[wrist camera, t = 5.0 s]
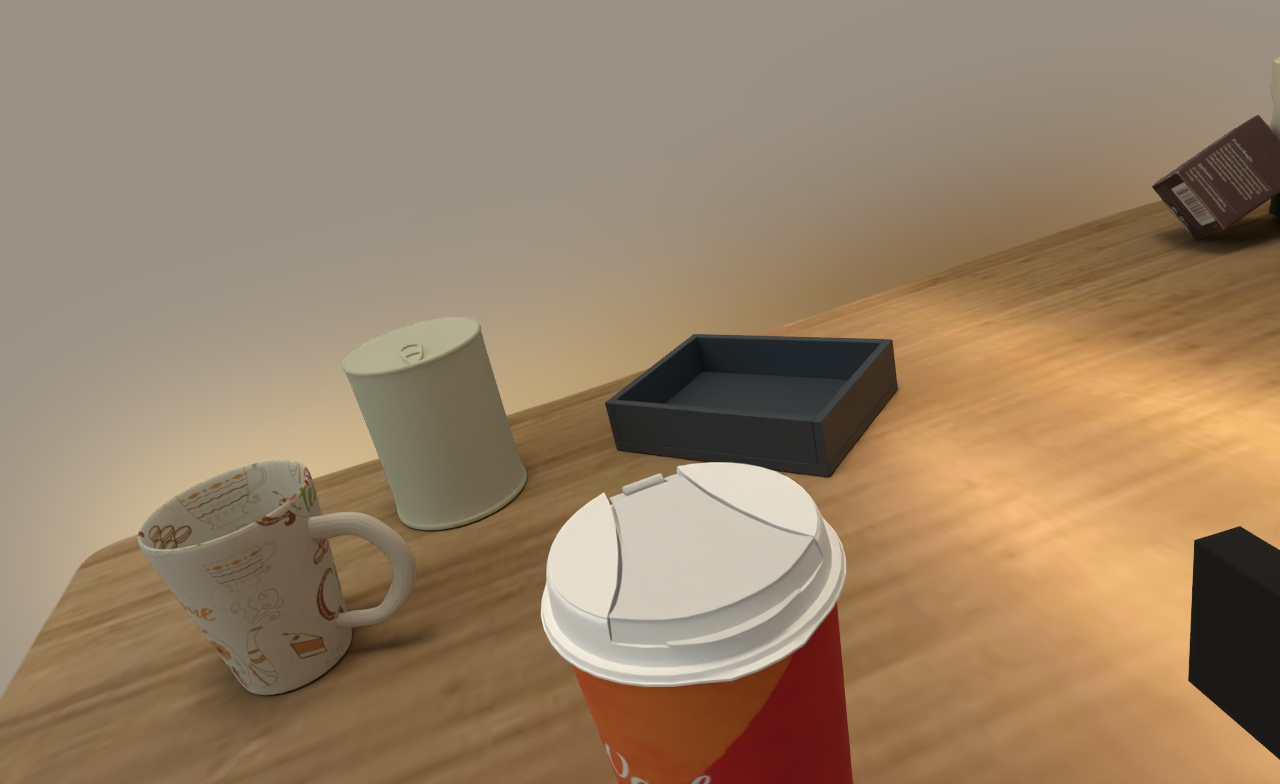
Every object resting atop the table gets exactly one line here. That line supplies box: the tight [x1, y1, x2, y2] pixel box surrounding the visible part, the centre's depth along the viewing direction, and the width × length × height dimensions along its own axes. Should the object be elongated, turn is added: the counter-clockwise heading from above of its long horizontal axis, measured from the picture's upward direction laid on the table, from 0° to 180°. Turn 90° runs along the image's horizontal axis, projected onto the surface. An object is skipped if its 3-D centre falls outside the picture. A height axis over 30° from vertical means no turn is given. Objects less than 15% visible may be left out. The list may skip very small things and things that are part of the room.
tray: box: [605, 334, 898, 477], centre depth 60 cm, size 16×12×4 cm
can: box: [342, 317, 527, 530], centre depth 58 cm, size 9×9×12 cm
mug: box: [138, 460, 417, 695], centre depth 45 cm, size 8×13×10 cm, turn 89°
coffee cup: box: [541, 462, 853, 784], centre depth 26 cm, size 8×8×15 cm
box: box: [1152, 115, 1280, 239], centre depth 71 cm, size 6×6×7 cm
